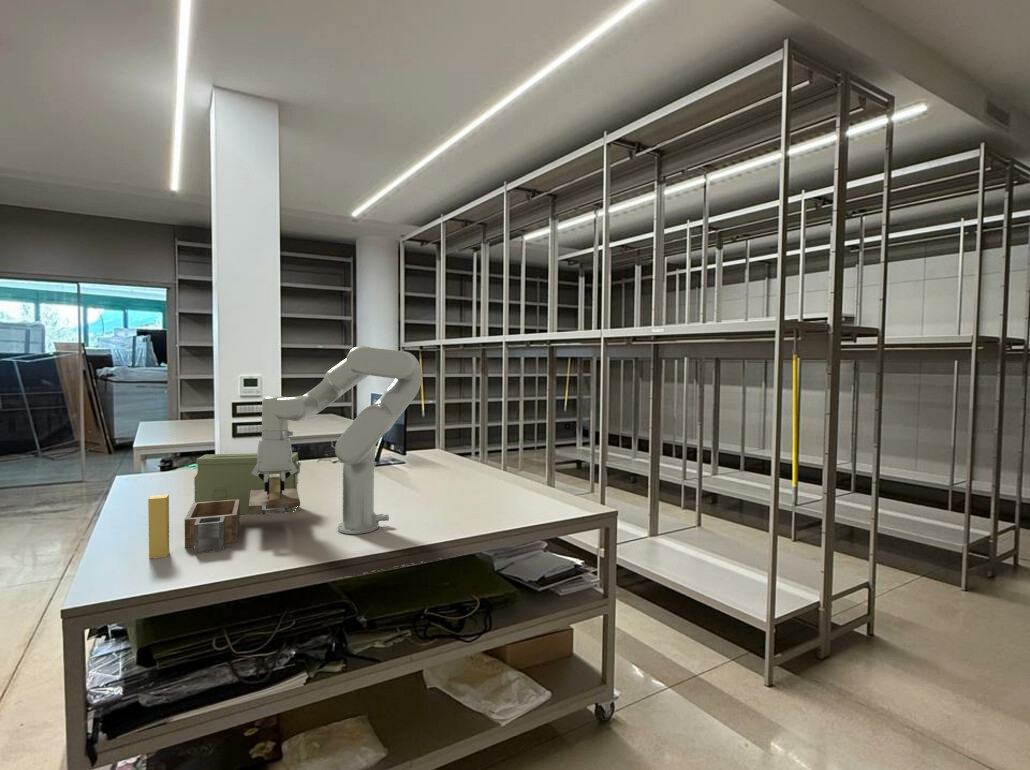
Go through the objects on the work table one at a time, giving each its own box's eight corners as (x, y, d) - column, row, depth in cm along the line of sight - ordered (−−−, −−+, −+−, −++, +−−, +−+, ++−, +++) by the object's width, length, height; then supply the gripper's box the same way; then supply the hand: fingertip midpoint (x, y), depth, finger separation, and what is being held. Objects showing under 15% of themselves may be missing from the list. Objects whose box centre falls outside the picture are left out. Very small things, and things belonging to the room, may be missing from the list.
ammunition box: (297, 512, 190) (297, 456, 189) (193, 517, 182) (192, 458, 181) (301, 505, 199) (301, 451, 198) (202, 510, 191) (202, 453, 191)
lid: (296, 493, 183) (296, 469, 183) (301, 514, 159) (301, 486, 159) (250, 496, 178) (250, 472, 177) (248, 519, 153) (248, 490, 153)
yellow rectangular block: (169, 551, 149) (168, 494, 148) (166, 556, 145) (166, 497, 144) (152, 553, 147) (151, 495, 147) (149, 558, 143) (148, 499, 143)
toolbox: (239, 523, 176) (239, 499, 175) (235, 548, 152) (235, 520, 151) (193, 527, 170) (193, 502, 170) (181, 555, 146) (181, 525, 146)
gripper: (302, 433, 177) (301, 489, 178) (246, 434, 170) (245, 492, 171) (303, 436, 170) (302, 494, 171) (245, 437, 163) (245, 498, 164)
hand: (274, 492), depth 171 cm, fingers closed on lid, 3 cm apart
